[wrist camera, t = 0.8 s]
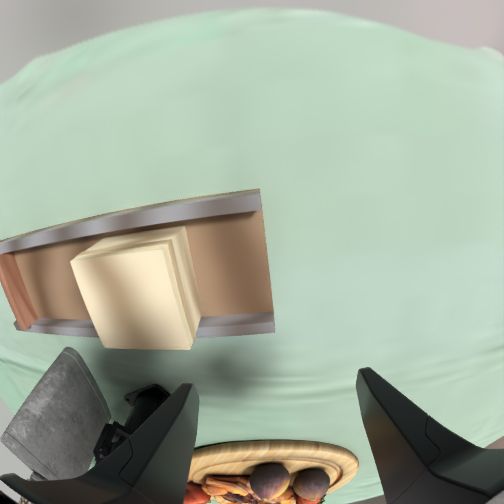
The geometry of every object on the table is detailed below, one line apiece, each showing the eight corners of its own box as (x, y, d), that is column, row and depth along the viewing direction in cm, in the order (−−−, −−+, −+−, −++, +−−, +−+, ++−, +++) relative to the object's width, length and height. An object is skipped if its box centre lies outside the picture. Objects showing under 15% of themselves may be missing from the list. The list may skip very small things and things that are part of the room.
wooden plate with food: (182, 490, 42) (177, 520, 34) (162, 423, 30) (148, 473, 23) (324, 495, 43) (328, 523, 35) (387, 427, 31) (402, 470, 23)
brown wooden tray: (259, 188, 20) (259, 197, 16) (273, 313, 23) (275, 340, 20) (-1, 240, 22) (-21, 251, 18) (28, 318, 25) (12, 334, 22)
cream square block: (185, 224, 19) (163, 248, 15) (204, 310, 22) (191, 350, 17) (104, 237, 20) (69, 260, 15) (128, 313, 22) (104, 348, 18)
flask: (83, 350, 26) (8, 466, 9) (118, 421, 31) (80, 518, 14) (61, 345, 26) (-15, 449, 10) (98, 416, 31) (57, 507, 15)
